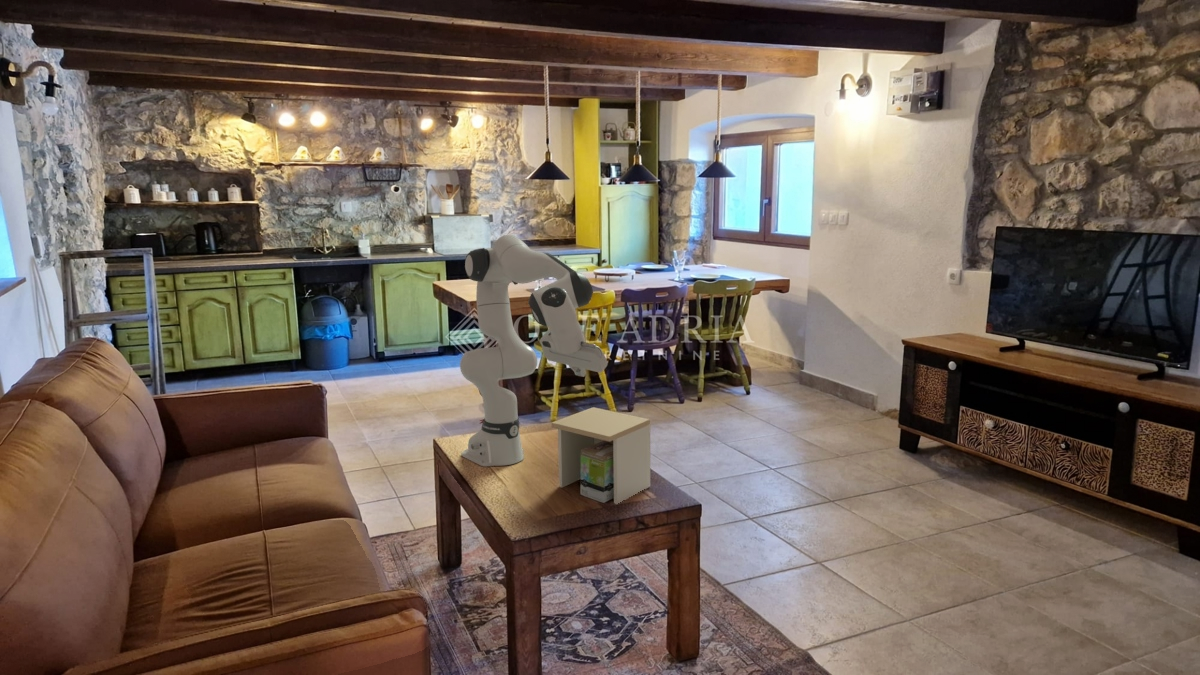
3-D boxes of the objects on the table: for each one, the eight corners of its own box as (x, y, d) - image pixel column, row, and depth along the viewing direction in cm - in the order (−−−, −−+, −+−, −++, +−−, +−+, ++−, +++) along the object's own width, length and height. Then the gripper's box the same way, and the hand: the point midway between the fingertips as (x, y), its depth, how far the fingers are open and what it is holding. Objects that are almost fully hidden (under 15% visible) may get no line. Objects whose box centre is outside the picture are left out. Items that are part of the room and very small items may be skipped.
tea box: (605, 504, 221) (604, 456, 219) (579, 495, 228) (578, 448, 225) (637, 488, 233) (637, 442, 230) (612, 480, 239) (611, 436, 236)
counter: (552, 489, 232) (551, 422, 228) (593, 470, 248) (592, 407, 244) (610, 508, 219) (610, 436, 214) (650, 486, 234) (650, 419, 230)
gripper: (605, 338, 211) (616, 374, 219) (546, 326, 222) (559, 360, 230) (593, 353, 207) (605, 389, 216) (534, 340, 218) (548, 374, 226)
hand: (581, 374), depth 223 cm, fingers closed
